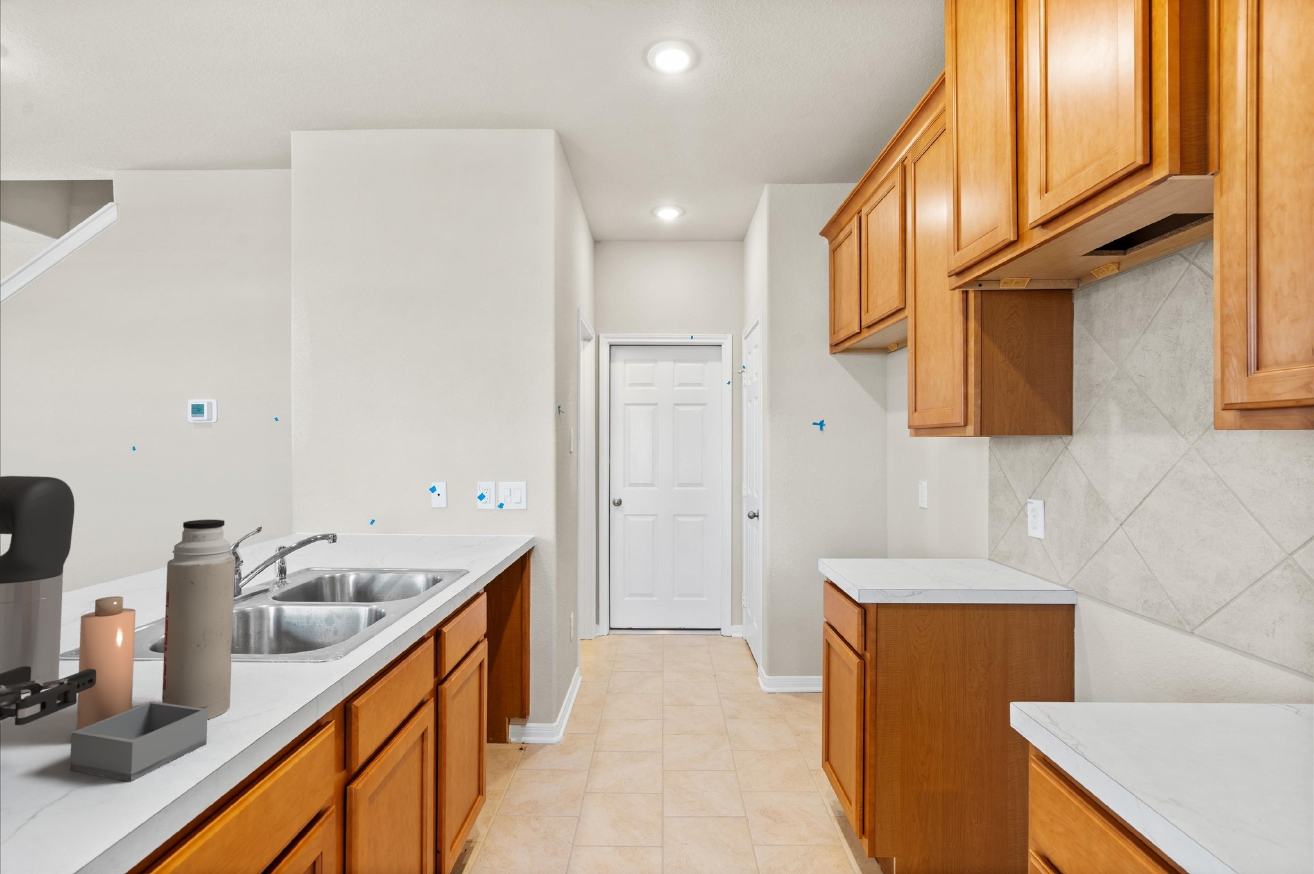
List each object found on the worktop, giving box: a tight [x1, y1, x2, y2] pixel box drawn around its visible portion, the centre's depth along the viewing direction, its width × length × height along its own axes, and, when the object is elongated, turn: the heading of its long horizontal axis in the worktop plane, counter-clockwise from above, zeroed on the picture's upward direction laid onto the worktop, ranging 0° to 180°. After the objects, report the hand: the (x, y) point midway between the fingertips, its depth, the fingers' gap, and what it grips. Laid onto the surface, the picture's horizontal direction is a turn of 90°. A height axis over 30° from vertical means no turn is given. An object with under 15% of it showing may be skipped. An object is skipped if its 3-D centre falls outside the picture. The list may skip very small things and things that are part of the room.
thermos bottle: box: [161, 519, 236, 721], centre depth 89 cm, size 8×8×28 cm
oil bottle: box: [75, 595, 136, 731], centre depth 82 cm, size 6×6×18 cm
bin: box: [69, 700, 208, 782], centre depth 76 cm, size 9×9×4 cm
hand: (60, 675), depth 76 cm, fingers open, 8 cm apart
